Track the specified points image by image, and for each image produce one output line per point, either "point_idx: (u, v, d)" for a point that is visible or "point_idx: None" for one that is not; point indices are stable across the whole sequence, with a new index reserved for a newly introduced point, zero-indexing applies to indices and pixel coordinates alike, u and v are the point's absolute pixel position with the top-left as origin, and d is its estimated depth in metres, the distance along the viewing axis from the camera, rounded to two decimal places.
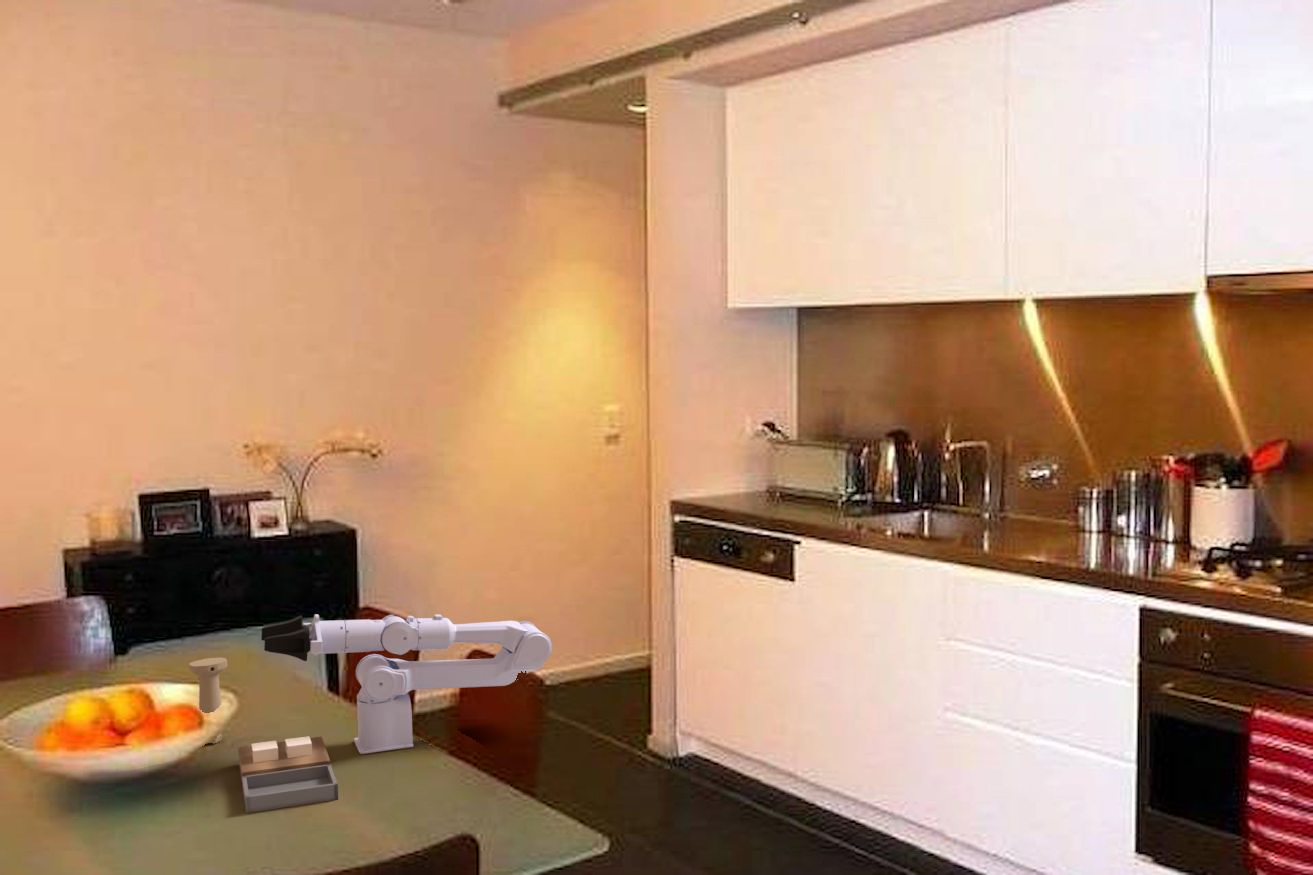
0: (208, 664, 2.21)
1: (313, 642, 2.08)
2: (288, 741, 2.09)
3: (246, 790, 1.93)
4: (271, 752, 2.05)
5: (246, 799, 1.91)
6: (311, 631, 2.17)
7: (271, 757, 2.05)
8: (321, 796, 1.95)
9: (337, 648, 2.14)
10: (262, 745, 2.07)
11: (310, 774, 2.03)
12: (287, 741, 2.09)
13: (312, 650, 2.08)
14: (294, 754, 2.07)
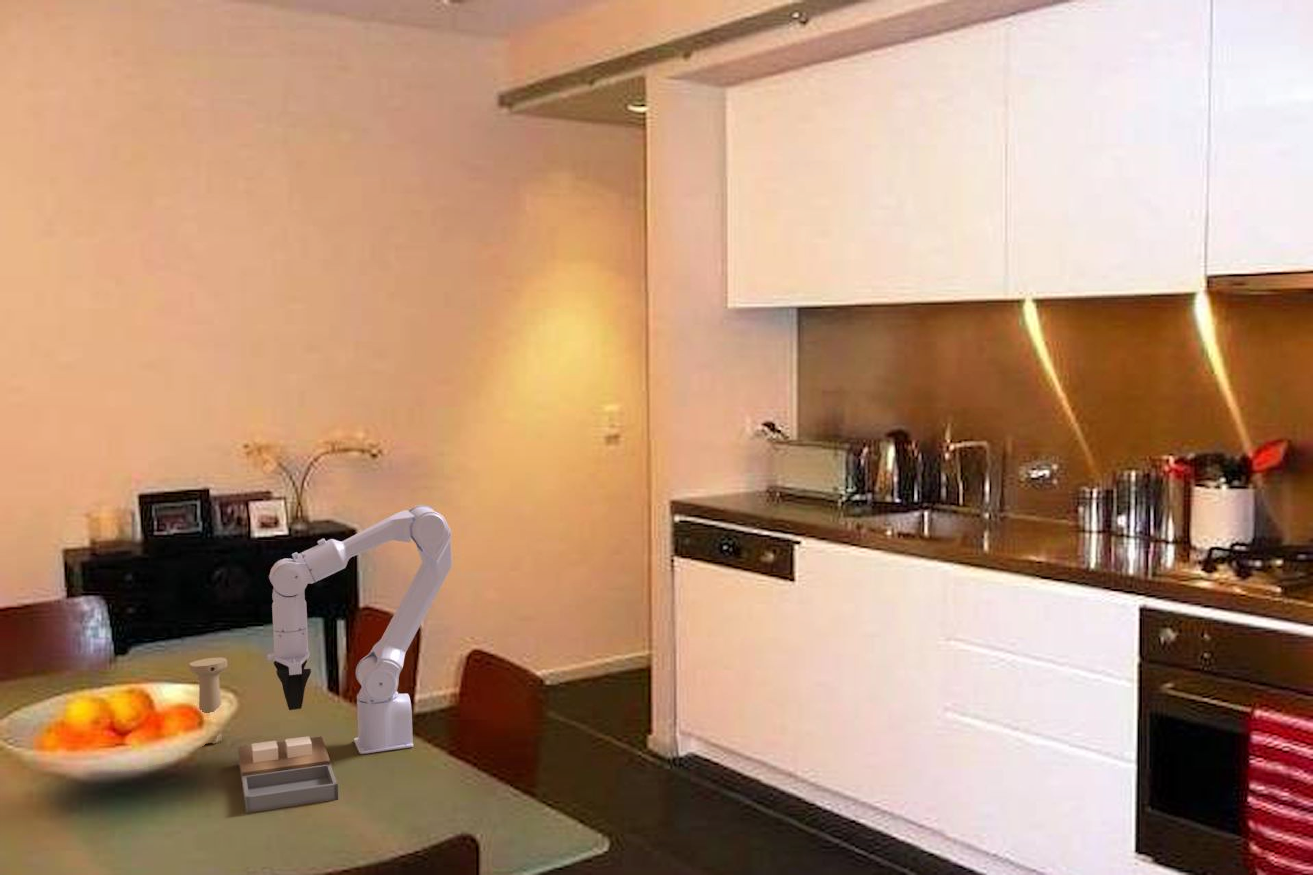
0: (208, 664, 2.21)
1: (290, 672, 2.07)
2: (288, 741, 2.09)
3: (246, 790, 1.93)
4: (271, 752, 2.05)
5: (246, 799, 1.91)
6: None
7: (271, 757, 2.05)
8: (321, 796, 1.95)
9: (301, 637, 2.12)
10: (262, 745, 2.07)
11: (310, 774, 2.03)
12: (287, 741, 2.09)
13: (298, 672, 2.08)
14: (294, 754, 2.07)
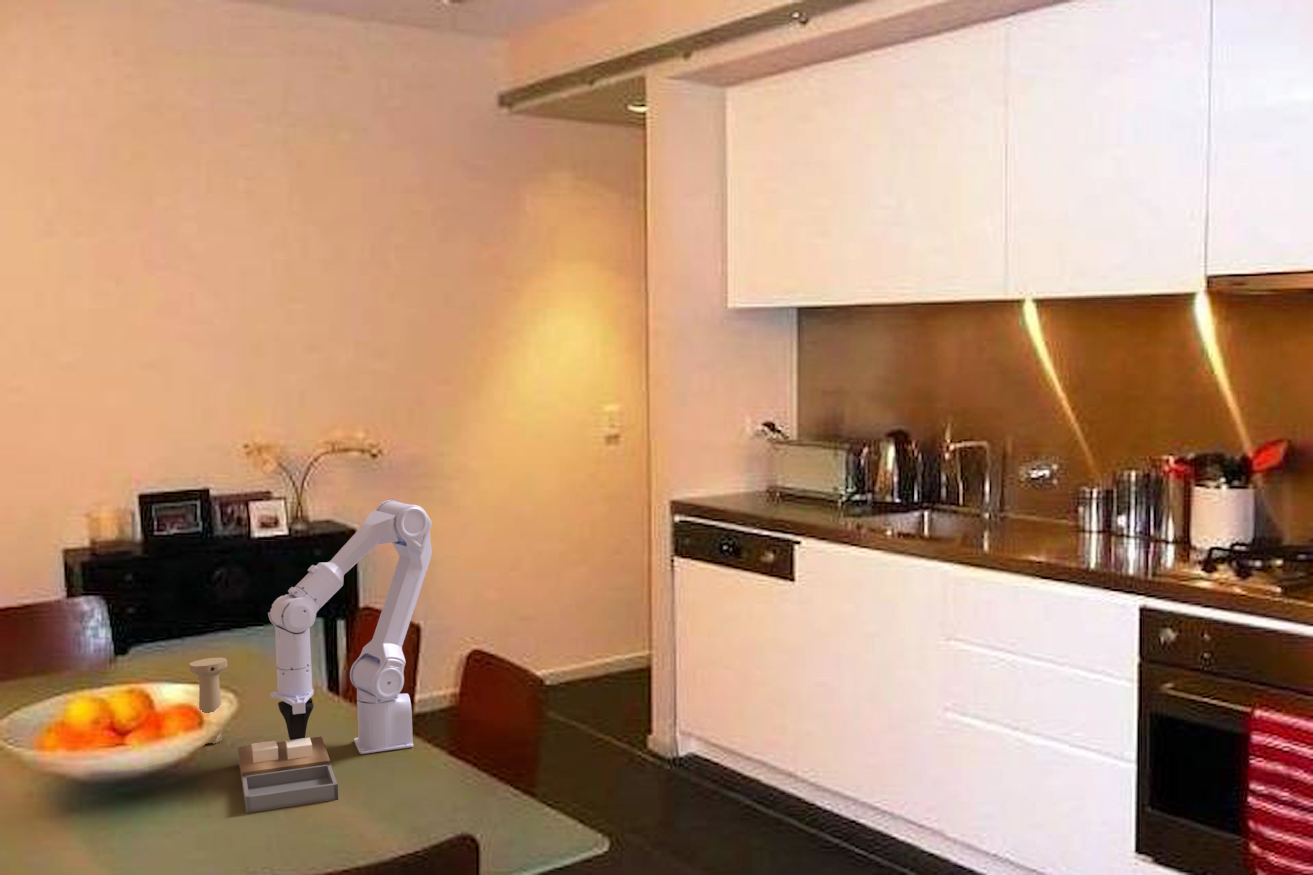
0: (208, 664, 2.21)
1: (293, 711, 2.03)
2: (288, 742, 2.08)
3: (246, 790, 1.93)
4: (271, 752, 2.05)
5: (246, 799, 1.91)
6: None
7: (271, 757, 2.05)
8: (321, 796, 1.95)
9: (304, 675, 2.08)
10: (262, 745, 2.07)
11: (310, 774, 2.03)
12: (287, 742, 2.08)
13: (302, 711, 2.04)
14: (294, 755, 2.06)
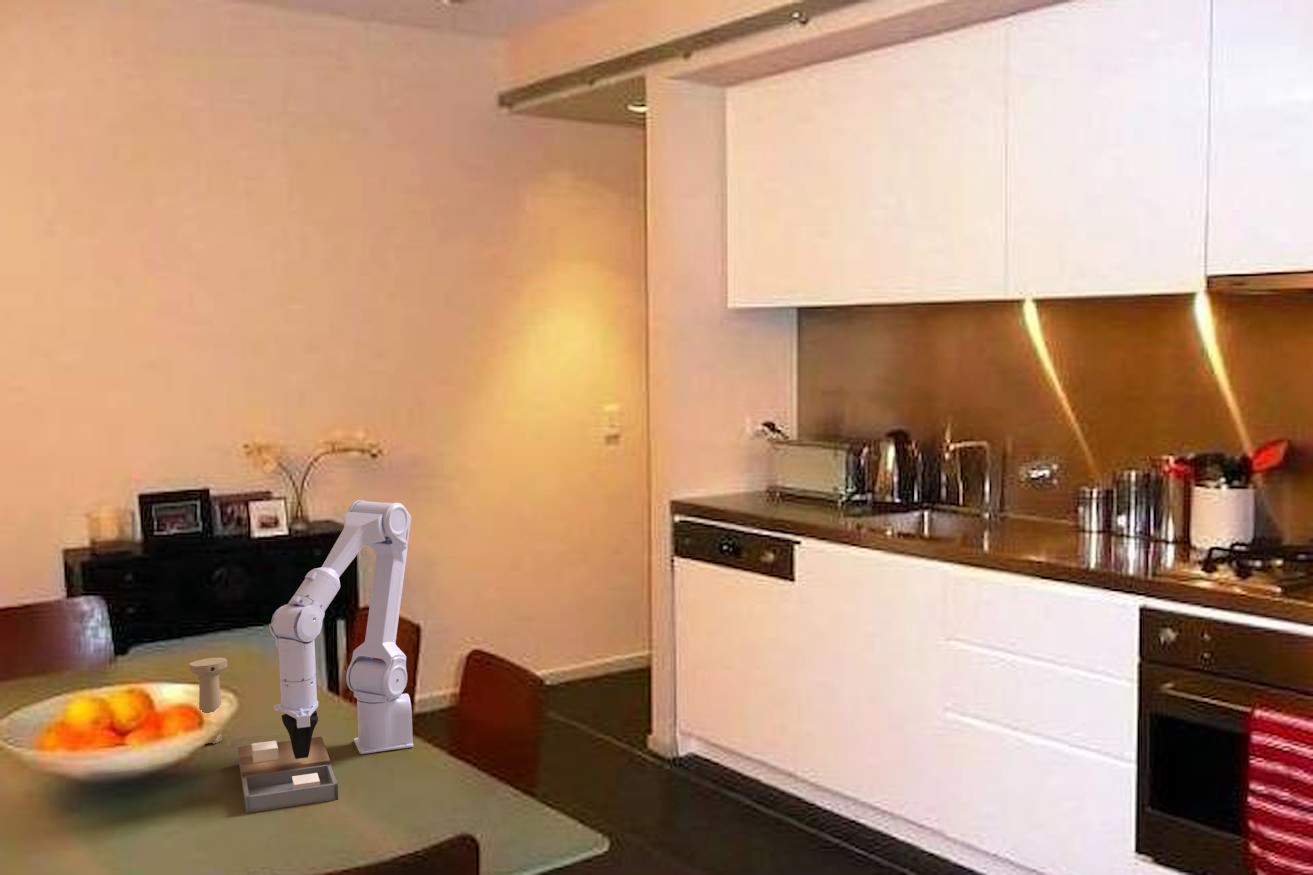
0: (208, 664, 2.21)
1: (298, 725, 1.96)
2: None
3: (246, 790, 1.93)
4: (271, 752, 2.05)
5: (246, 799, 1.91)
6: None
7: (271, 757, 2.05)
8: (321, 796, 1.95)
9: (309, 687, 2.01)
10: (262, 745, 2.07)
11: None
12: None
13: (307, 725, 1.97)
14: None
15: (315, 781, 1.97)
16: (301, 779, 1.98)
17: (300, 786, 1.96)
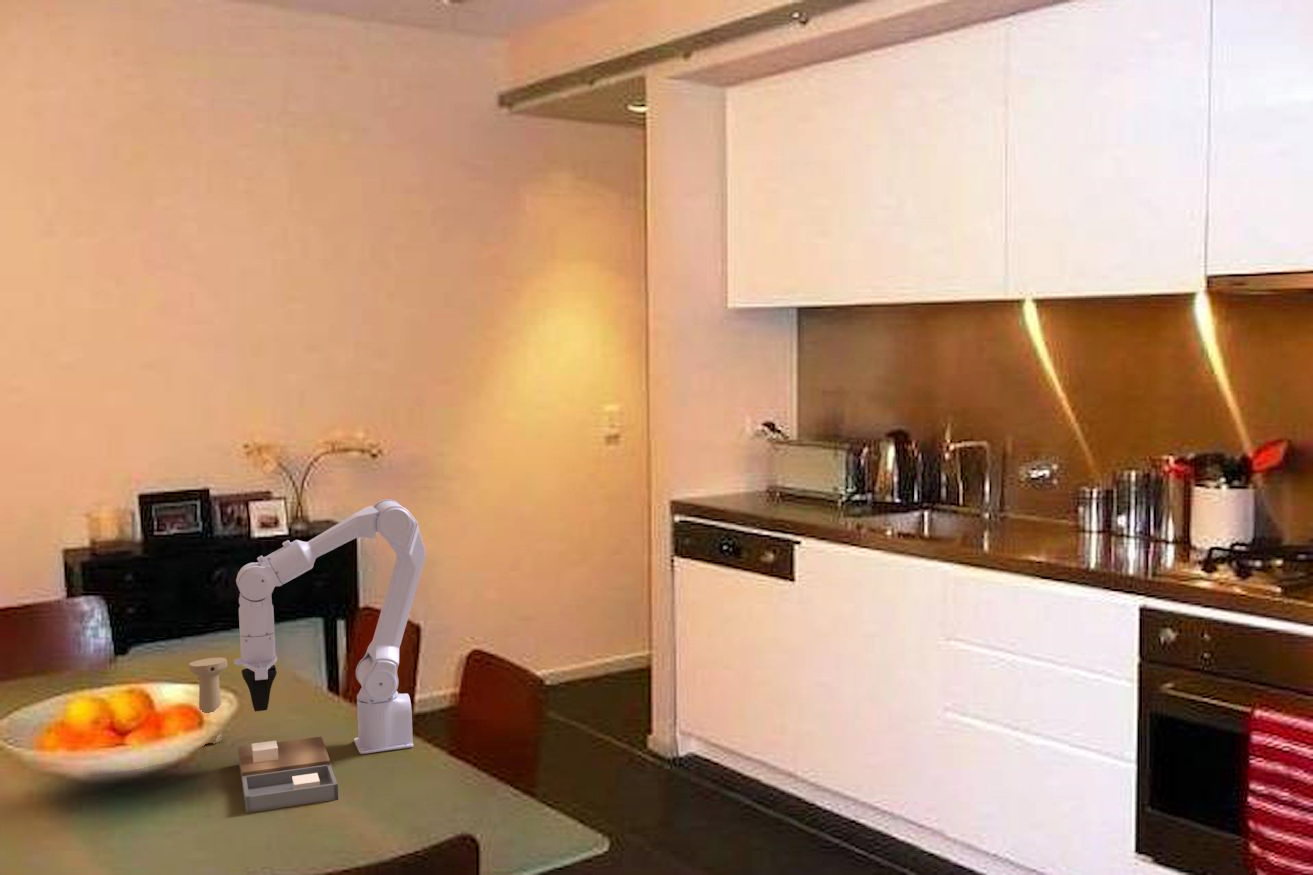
0: (208, 664, 2.21)
1: (256, 677, 2.05)
2: None
3: (246, 790, 1.93)
4: (271, 752, 2.05)
5: (246, 799, 1.91)
6: None
7: (271, 757, 2.05)
8: (321, 796, 1.95)
9: (267, 642, 2.10)
10: (262, 745, 2.07)
11: None
12: None
13: (264, 677, 2.06)
14: None
15: (315, 781, 1.97)
16: (301, 779, 1.98)
17: (300, 786, 1.96)
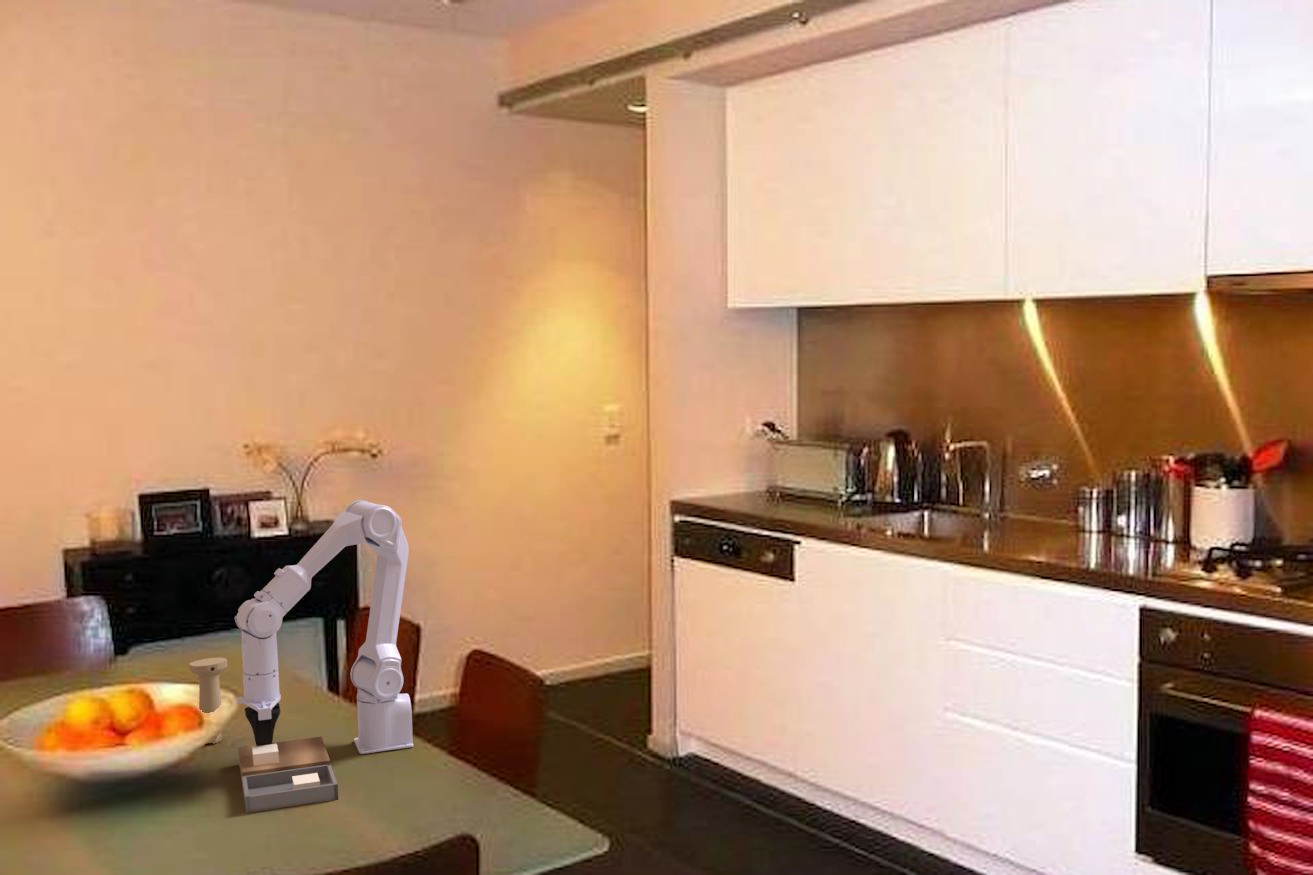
0: (208, 664, 2.21)
1: (259, 717, 2.00)
2: None
3: (246, 790, 1.93)
4: (271, 755, 2.04)
5: (246, 799, 1.91)
6: None
7: (271, 760, 2.04)
8: (321, 796, 1.95)
9: (271, 680, 2.05)
10: (262, 748, 2.05)
11: None
12: None
13: (268, 717, 2.01)
14: None
15: (315, 781, 1.97)
16: (301, 779, 1.98)
17: (300, 786, 1.96)
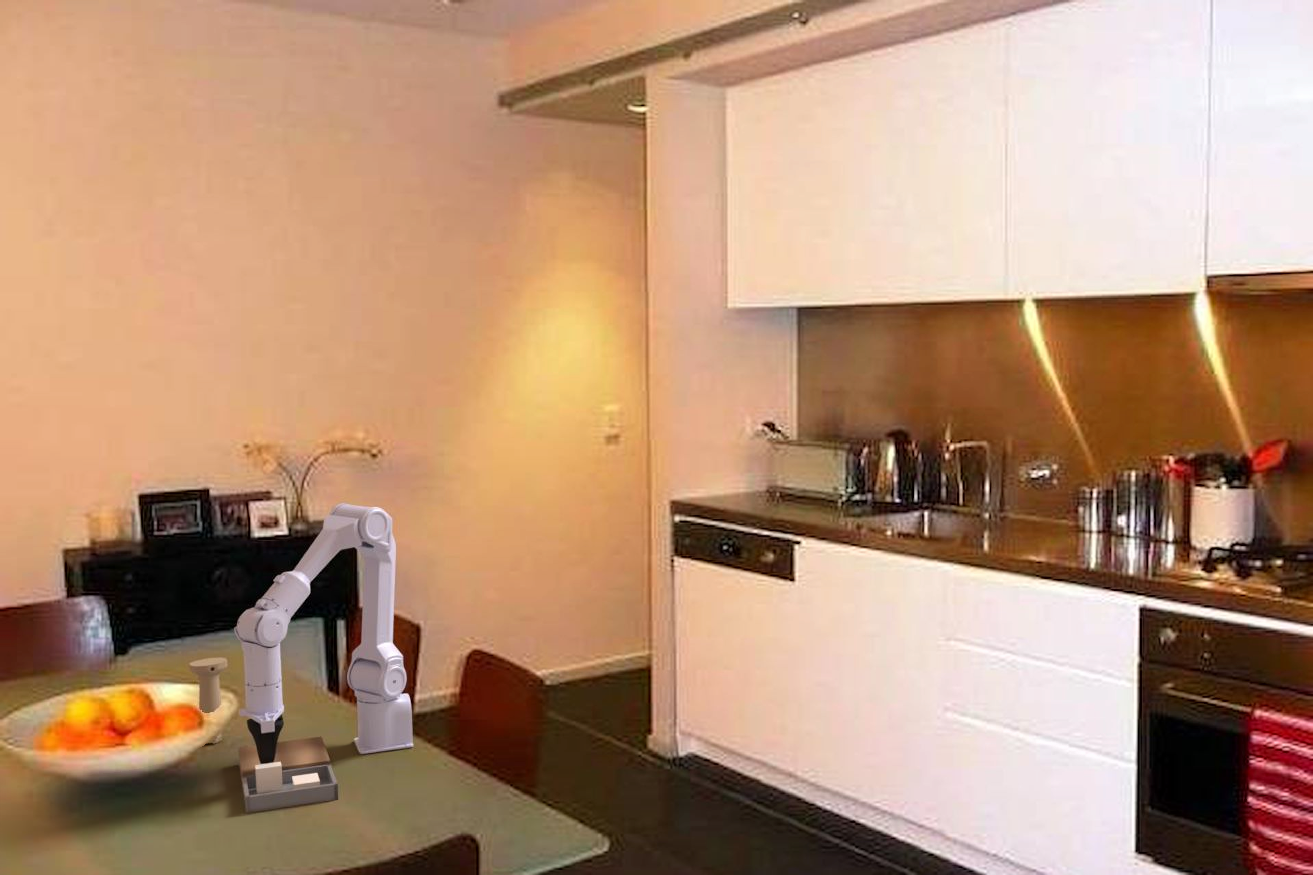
0: (208, 664, 2.21)
1: (262, 730, 1.94)
2: None
3: (246, 790, 1.93)
4: None
5: (246, 799, 1.91)
6: None
7: None
8: (321, 796, 1.95)
9: (274, 691, 1.99)
10: (266, 777, 1.98)
11: None
12: None
13: (271, 730, 1.94)
14: None
15: (315, 781, 1.97)
16: (301, 779, 1.98)
17: (300, 786, 1.96)
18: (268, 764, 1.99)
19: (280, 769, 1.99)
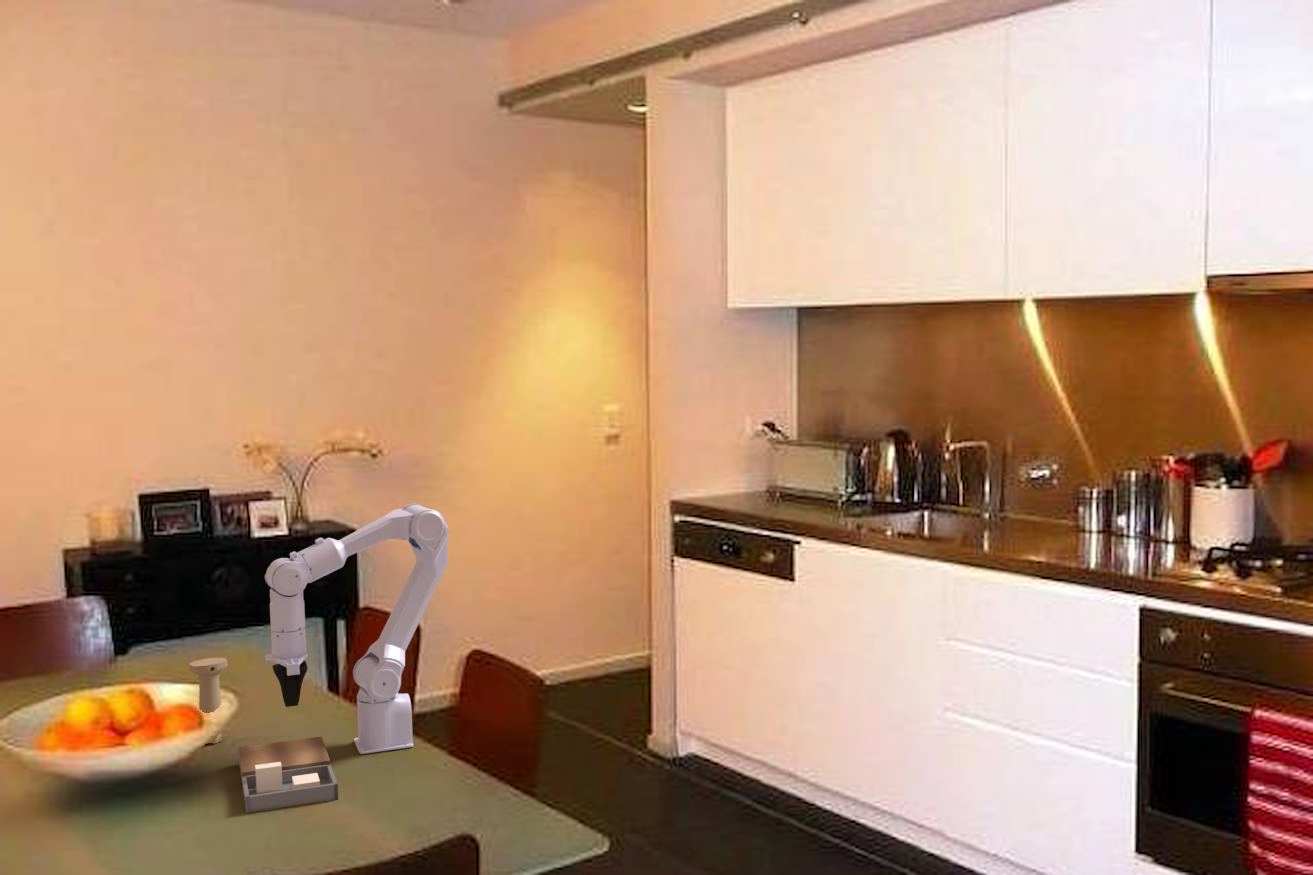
0: (208, 664, 2.21)
1: (288, 673, 2.05)
2: None
3: (246, 790, 1.93)
4: None
5: (246, 799, 1.91)
6: None
7: None
8: (321, 796, 1.95)
9: (299, 637, 2.10)
10: (266, 777, 1.98)
11: None
12: None
13: (296, 673, 2.05)
14: None
15: (315, 781, 1.97)
16: (301, 779, 1.98)
17: (300, 786, 1.96)
18: (268, 764, 1.99)
19: (280, 769, 1.99)
